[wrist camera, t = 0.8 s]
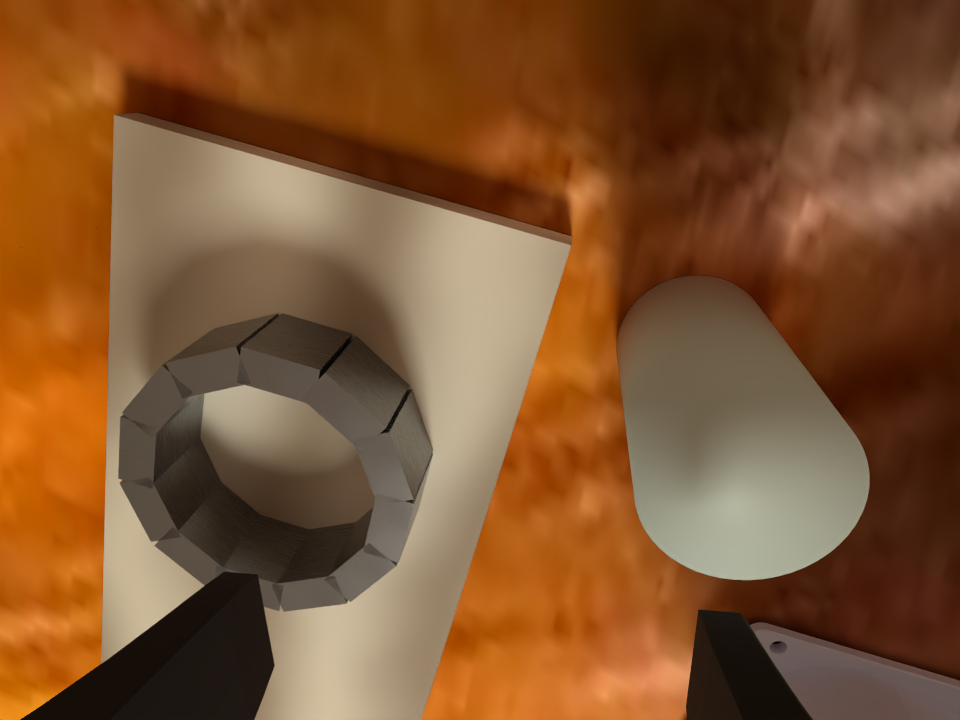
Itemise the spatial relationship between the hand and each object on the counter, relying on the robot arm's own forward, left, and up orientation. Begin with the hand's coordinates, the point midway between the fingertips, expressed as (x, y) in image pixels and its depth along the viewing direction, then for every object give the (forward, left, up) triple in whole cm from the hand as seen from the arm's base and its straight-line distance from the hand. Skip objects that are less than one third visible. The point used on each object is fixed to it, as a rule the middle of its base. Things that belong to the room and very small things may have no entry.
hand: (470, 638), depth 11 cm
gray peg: (-4, -3, -10) cm, 11 cm away
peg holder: (+6, +6, -10) cm, 13 cm away
